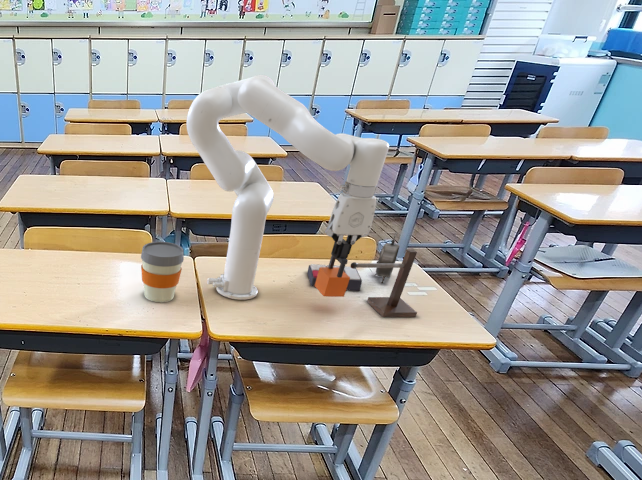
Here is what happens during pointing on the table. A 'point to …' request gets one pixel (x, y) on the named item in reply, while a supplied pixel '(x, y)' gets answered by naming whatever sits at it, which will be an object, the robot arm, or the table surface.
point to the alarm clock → (387, 258)
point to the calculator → (352, 273)
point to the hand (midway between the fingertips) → (339, 256)
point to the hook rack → (394, 303)
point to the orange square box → (334, 276)
